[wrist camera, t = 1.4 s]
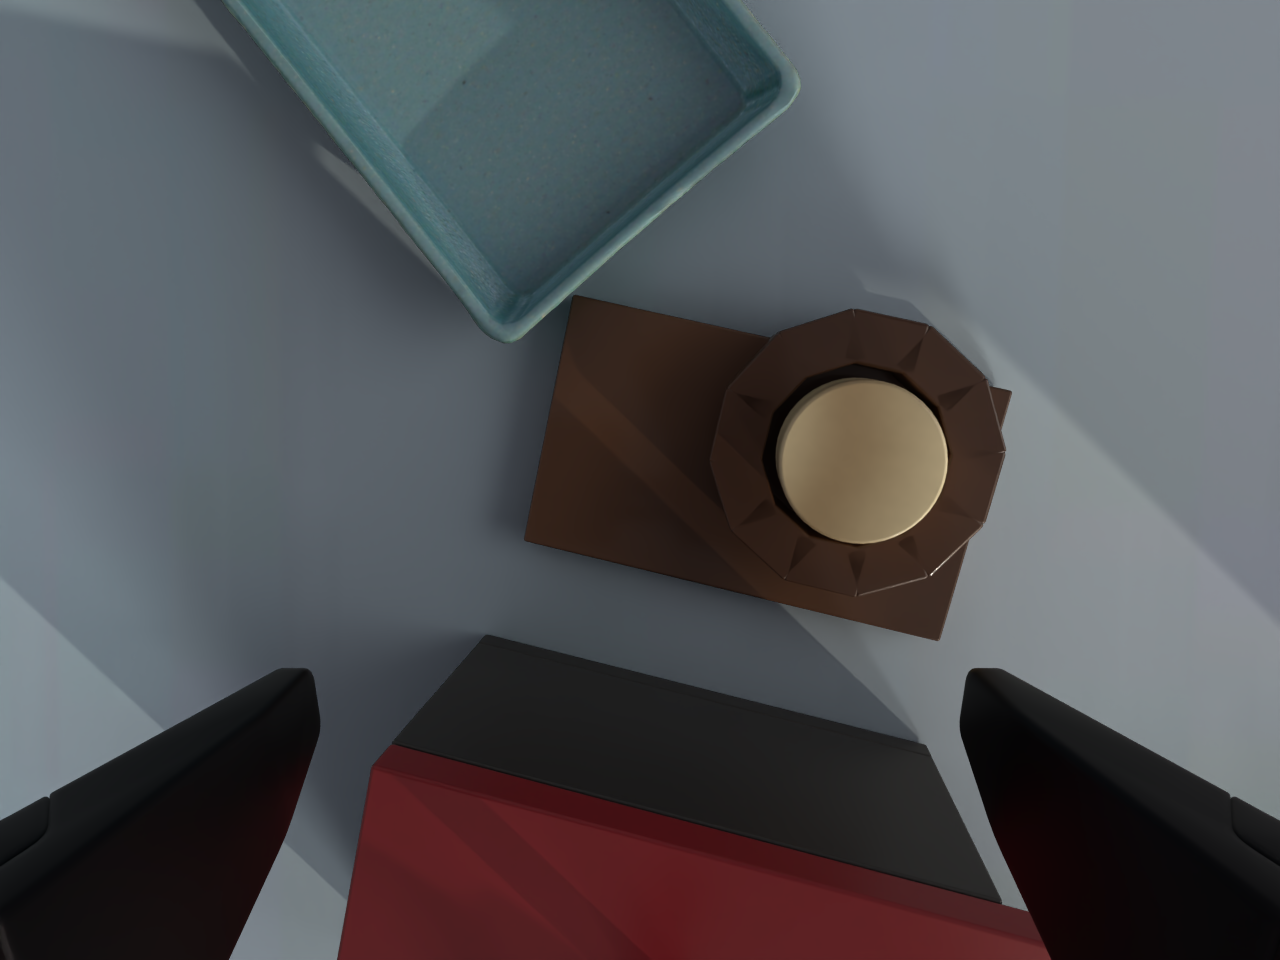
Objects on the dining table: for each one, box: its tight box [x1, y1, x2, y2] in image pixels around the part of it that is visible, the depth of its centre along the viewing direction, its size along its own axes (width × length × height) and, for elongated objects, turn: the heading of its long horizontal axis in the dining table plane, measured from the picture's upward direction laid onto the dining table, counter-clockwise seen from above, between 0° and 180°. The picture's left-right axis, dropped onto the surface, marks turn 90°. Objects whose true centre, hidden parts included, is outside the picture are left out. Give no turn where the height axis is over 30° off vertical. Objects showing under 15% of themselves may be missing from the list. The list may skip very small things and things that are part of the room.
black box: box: [392, 635, 1002, 904], centre depth 21 cm, size 12×11×7 cm
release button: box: [775, 378, 948, 544], centre depth 19 cm, size 4×4×2 cm
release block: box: [524, 295, 1012, 641], centre depth 21 cm, size 11×8×2 cm
